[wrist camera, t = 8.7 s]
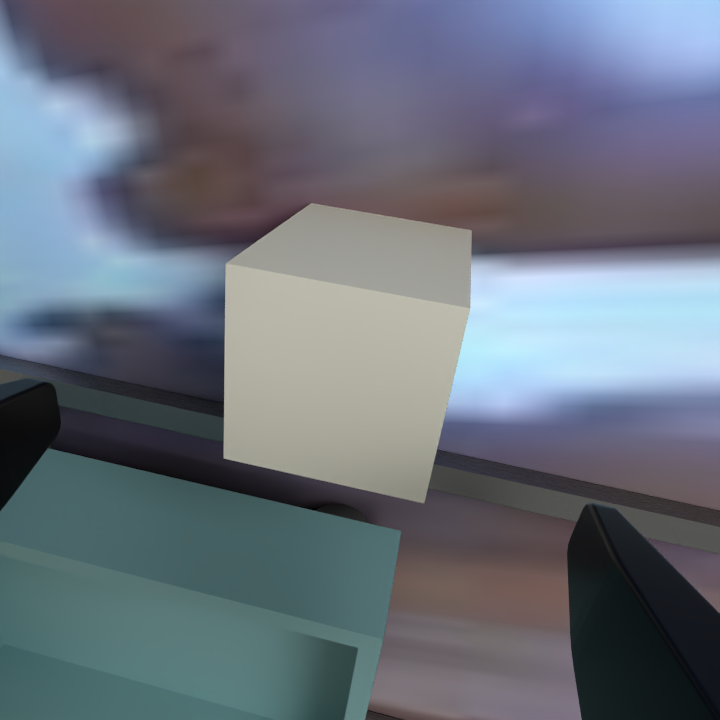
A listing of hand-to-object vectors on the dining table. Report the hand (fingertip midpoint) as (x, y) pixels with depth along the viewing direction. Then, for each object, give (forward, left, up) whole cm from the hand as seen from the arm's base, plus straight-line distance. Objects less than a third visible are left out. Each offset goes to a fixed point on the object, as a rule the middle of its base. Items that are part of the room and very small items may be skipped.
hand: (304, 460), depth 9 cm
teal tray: (-13, +6, -8) cm, 16 cm away
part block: (0, 0, -8) cm, 8 cm away
